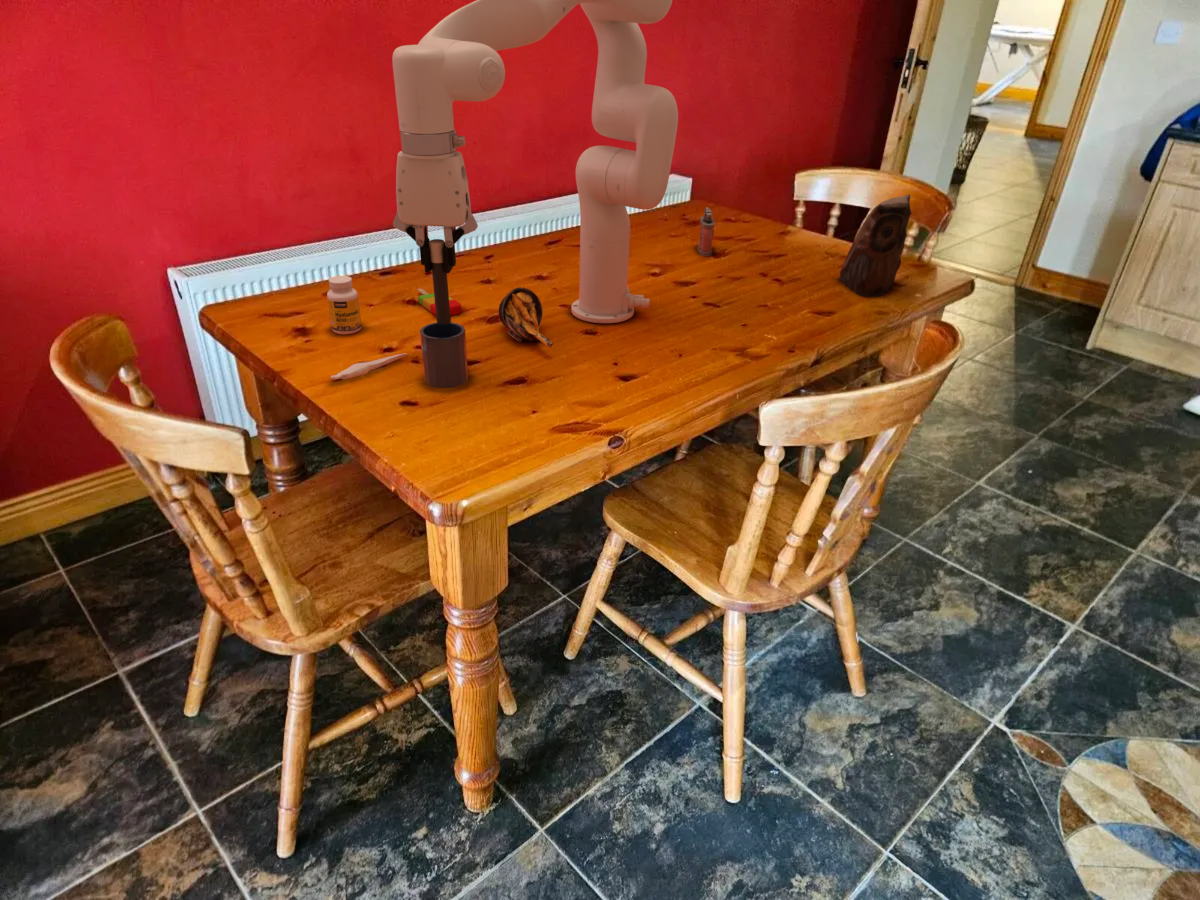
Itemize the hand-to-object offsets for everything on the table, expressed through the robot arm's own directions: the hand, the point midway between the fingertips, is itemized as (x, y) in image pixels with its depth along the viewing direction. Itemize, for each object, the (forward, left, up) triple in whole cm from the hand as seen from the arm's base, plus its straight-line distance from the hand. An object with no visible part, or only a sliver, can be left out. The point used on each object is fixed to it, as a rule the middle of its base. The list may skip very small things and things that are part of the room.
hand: (439, 269), depth 121 cm
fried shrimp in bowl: (-11, -18, -19) cm, 28 cm away
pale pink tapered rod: (+14, -2, -19) cm, 24 cm away
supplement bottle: (+23, -19, -19) cm, 35 cm away
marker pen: (0, 0, -9) cm, 9 cm away
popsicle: (+10, -34, -19) cm, 40 cm away
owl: (-82, -58, -19) cm, 102 cm away
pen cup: (0, 0, -19) cm, 19 cm away
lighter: (-47, -79, -19) cm, 94 cm away
